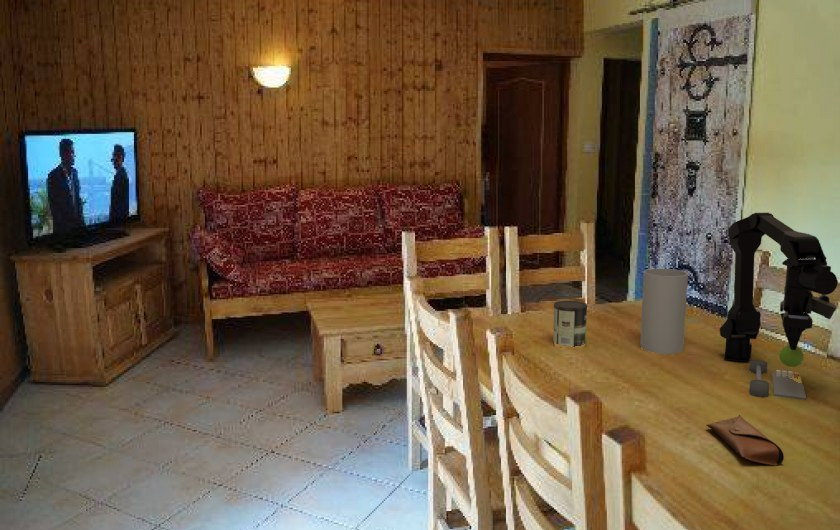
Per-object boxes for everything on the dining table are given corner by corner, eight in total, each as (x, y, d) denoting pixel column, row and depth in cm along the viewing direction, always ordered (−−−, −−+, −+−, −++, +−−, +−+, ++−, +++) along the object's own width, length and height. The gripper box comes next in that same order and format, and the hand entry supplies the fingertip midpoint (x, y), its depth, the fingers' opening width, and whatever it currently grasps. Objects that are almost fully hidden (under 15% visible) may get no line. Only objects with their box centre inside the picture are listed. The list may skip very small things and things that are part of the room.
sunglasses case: (702, 422, 157) (723, 400, 156) (724, 441, 158) (744, 419, 157) (743, 458, 139) (766, 434, 138) (767, 479, 140) (790, 455, 139)
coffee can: (582, 342, 225) (583, 300, 222) (589, 352, 215) (590, 307, 212) (550, 342, 225) (551, 300, 223) (555, 352, 215) (556, 307, 212)
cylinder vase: (676, 346, 220) (681, 268, 215) (687, 359, 207) (693, 276, 203) (636, 346, 221) (640, 268, 216) (644, 358, 209) (649, 276, 204)
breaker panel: (773, 399, 175) (774, 388, 174) (771, 377, 191) (772, 367, 190) (805, 403, 172) (806, 392, 171) (800, 380, 188) (801, 370, 188)
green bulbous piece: (799, 361, 180) (804, 317, 177) (804, 371, 174) (809, 326, 171) (776, 359, 182) (780, 316, 179) (780, 369, 176) (784, 324, 173)
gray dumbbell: (748, 399, 175) (750, 384, 175) (748, 372, 195) (749, 358, 195) (768, 402, 173) (769, 386, 173) (766, 374, 193) (767, 360, 193)
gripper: (840, 296, 162) (833, 361, 165) (831, 281, 178) (825, 340, 181) (786, 292, 166) (780, 355, 169) (782, 278, 183) (777, 335, 186)
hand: (792, 346), depth 176 cm, fingers closed on green bulbous piece, 5 cm apart
